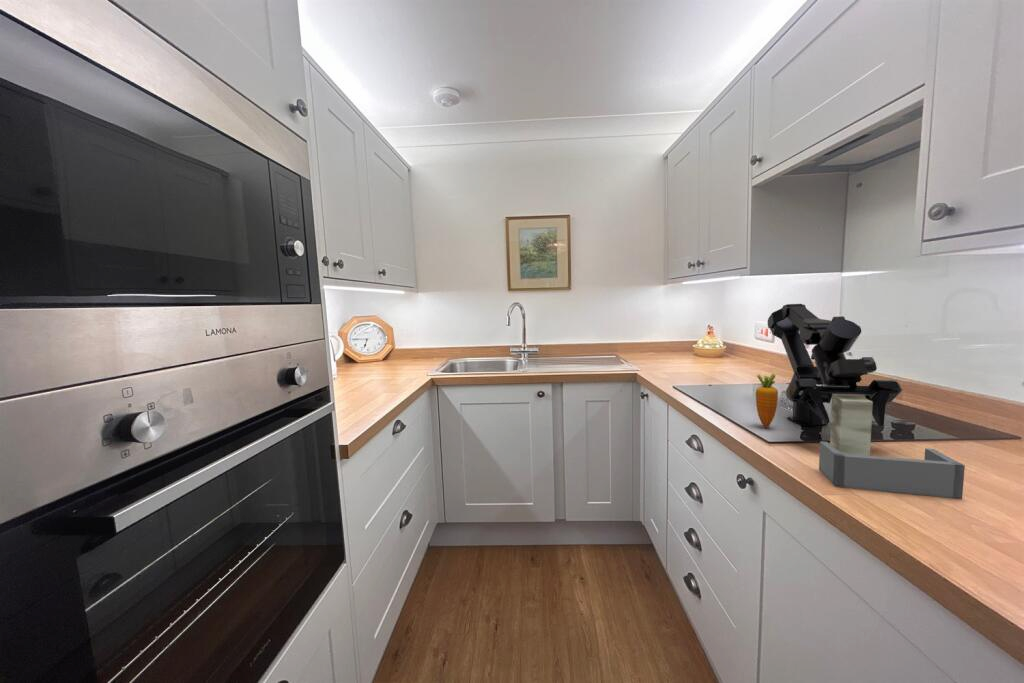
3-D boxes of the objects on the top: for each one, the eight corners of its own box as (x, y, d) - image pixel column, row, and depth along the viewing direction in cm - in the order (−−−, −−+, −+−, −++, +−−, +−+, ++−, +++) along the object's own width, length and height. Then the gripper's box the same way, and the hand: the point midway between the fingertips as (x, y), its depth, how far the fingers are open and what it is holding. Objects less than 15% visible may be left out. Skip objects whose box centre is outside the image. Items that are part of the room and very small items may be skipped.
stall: (818, 469, 75) (820, 441, 75) (931, 479, 69) (933, 448, 69) (835, 486, 69) (837, 455, 68) (962, 498, 63) (964, 465, 62)
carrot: (750, 426, 101) (751, 373, 99) (762, 423, 103) (763, 371, 101) (769, 432, 96) (771, 376, 95) (781, 428, 98) (783, 373, 96)
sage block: (829, 449, 84) (831, 394, 83) (857, 451, 82) (860, 395, 81) (840, 458, 79) (842, 400, 78) (869, 461, 78) (872, 401, 76)
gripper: (794, 344, 85) (813, 404, 76) (899, 343, 79) (933, 408, 70) (782, 371, 93) (797, 427, 84) (875, 372, 87) (903, 433, 78)
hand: (854, 424), depth 79 cm, fingers open, 9 cm apart
